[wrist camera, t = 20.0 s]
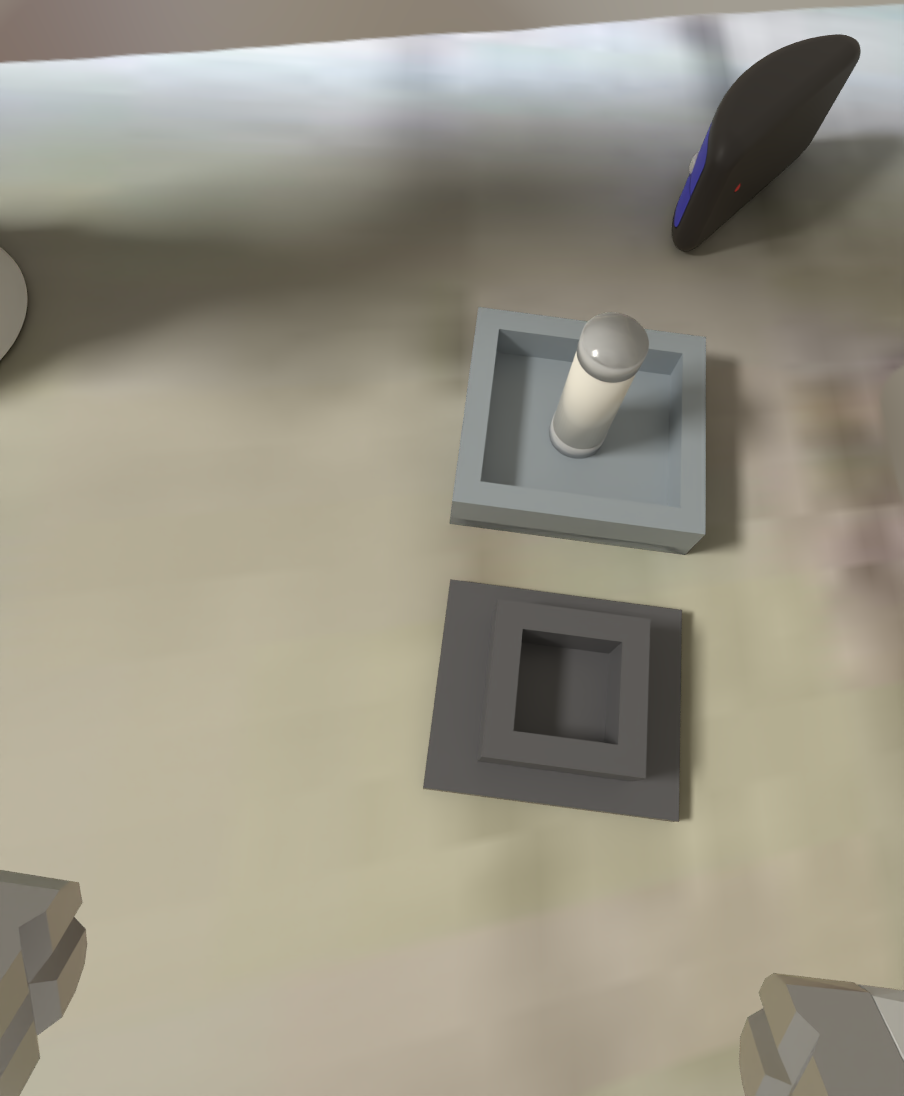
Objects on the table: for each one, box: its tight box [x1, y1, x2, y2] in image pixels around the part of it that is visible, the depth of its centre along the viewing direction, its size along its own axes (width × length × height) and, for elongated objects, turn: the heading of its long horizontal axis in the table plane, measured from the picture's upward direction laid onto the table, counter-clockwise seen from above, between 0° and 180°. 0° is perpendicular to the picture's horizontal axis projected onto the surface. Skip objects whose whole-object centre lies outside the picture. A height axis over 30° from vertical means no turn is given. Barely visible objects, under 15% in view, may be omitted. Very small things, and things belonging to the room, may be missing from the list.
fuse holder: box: [423, 579, 682, 822], centre depth 41 cm, size 14×12×4 cm
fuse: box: [549, 312, 649, 459], centre depth 44 cm, size 4×4×10 cm
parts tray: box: [450, 307, 706, 555], centre depth 48 cm, size 15×14×4 cm
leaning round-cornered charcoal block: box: [672, 35, 860, 251], centre depth 53 cm, size 16×5×9 cm, turn 135°
